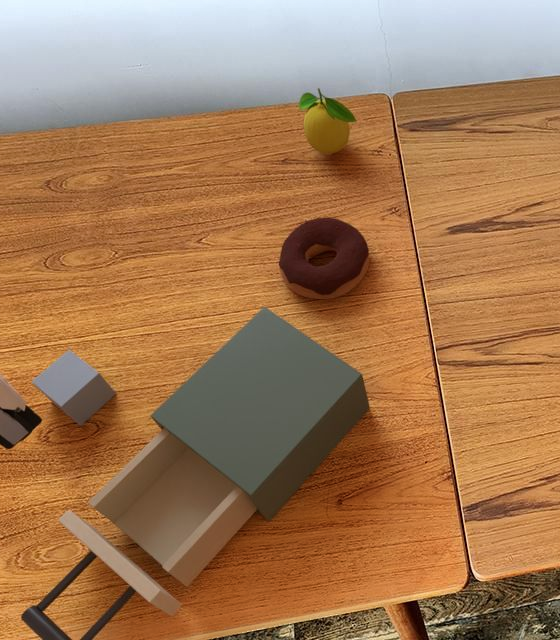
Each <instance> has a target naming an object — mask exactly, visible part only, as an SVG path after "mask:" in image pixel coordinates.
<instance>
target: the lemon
mask: <svg viewBox="0 0 560 640" xmlns="http://www.w3.org/2000/svg"><path fill="white" fill-rule="evenodd" d="M317 92H318V95H319V97H317V96H316V95H315V94H313V93H311V92H305V93H302V95H301V97H300V99H299V102H298V106H297V107H298V109H299V110H300V111H305V110H306V111H305V114H304V118H303V132H304V136H305V139H306V141H307V142H308V144H309V145H310V146H311V148H312V149H314V150H315V151H316V152H319V153H322V154H324V155H333V154H336V153H339V152H340V151H342V150H343V149H344V148H345V147H346V145H347V144H348V142H349V140H350V139H349V138H350V134H351V128H350V124H349V123H357V121H358V120H357V119H356V117H355V115H354V114H353V112H352V111H351V110H350V109H349V108H348V107H347V106H345V105H344V104H343V103H342V102H339V101H338V100H336V99H334V98H331V97H328V96H327V97H326V96H325V95H323V93H322V92H321V88H319V87H317ZM323 98H324V99H323Z"/></svg>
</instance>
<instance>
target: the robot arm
mask: <svg viewBox="0 0 560 640" xmlns="http://www.w3.org/2000/svg"><path fill="white" fill-rule="evenodd" d="M42 423H43V418H42V417H40V416H39V415H38V414H37V413H36V412H35V411H34V410H33V409H32V408H30V406H28V404H27V402H26V399H25V398H24V397H23V396H22V395H21V394H20V393H19V392H18V391H17V390H16V388H14V387H13V385H12V384H11V383H10V382H9V381H8V380H7V378H5V377H4V375H2V373H0V446H1V447H3V448H4V449H6V450H11V449H13V448H14V447H16V446H17V445H18V444H19V443H21V442H23V441H24V440H25V439H26V438H28V437H29V436H30V435H31V434H32V433H33V431H34V430H35V429H36V428H37V427H38V426H40V425H41V424H42Z"/></svg>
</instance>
